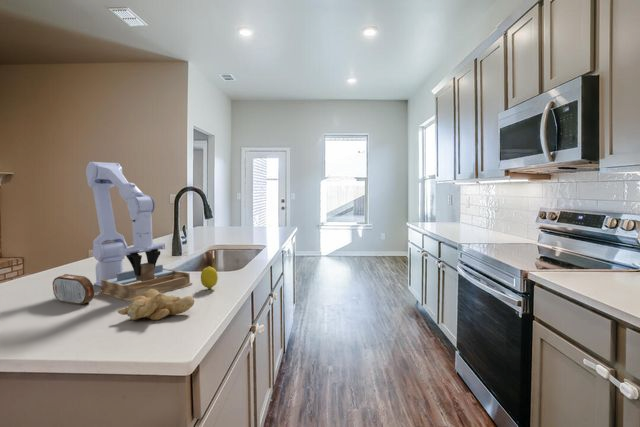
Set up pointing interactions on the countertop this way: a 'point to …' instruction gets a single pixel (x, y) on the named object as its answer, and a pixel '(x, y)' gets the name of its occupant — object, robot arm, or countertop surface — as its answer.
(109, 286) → the wooden tray
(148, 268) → the block
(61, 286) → the tin
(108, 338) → the countertop surface
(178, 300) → the ginger root
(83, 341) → the countertop surface
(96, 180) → the robot arm
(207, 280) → the lemon
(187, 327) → the countertop surface
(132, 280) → the lid
